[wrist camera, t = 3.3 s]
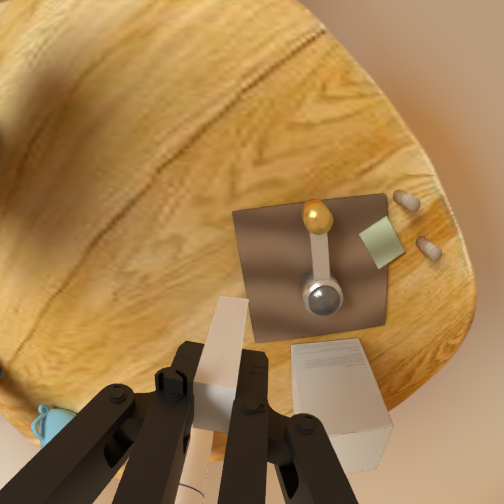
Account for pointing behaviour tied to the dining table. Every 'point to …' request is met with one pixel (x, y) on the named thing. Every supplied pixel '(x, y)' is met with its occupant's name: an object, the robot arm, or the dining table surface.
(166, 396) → the robot arm
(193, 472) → the cylindrical container
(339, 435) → the supplement box
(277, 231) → the dial board
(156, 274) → the dining table surface
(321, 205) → the crank handle
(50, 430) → the teapot
